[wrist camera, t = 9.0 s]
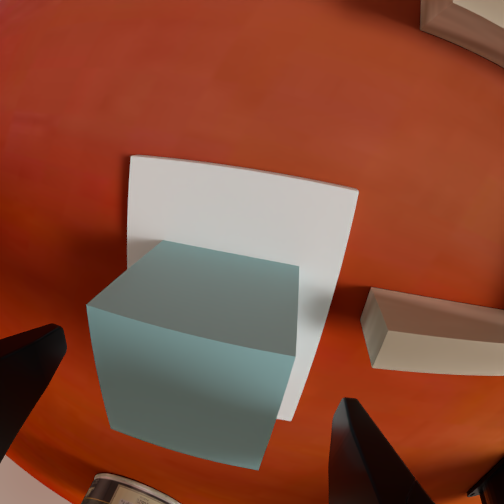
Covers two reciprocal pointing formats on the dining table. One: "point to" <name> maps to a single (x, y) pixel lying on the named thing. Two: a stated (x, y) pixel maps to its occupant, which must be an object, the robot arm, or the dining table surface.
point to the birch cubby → (431, 309)
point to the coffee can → (123, 492)
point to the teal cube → (197, 350)
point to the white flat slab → (248, 231)
